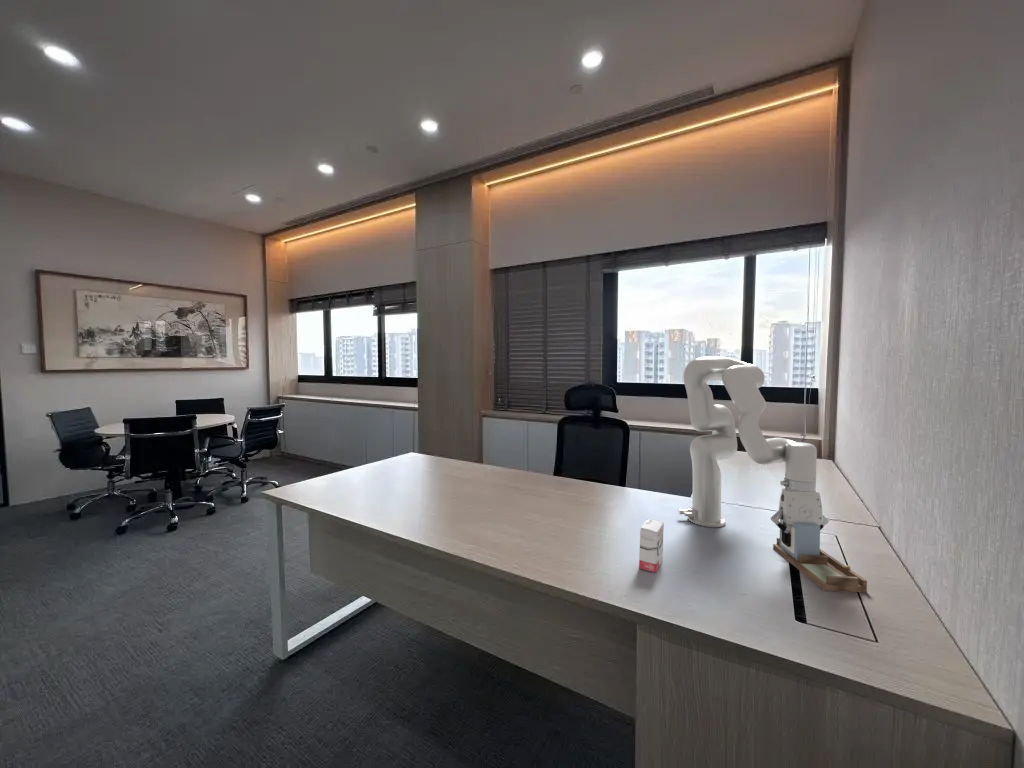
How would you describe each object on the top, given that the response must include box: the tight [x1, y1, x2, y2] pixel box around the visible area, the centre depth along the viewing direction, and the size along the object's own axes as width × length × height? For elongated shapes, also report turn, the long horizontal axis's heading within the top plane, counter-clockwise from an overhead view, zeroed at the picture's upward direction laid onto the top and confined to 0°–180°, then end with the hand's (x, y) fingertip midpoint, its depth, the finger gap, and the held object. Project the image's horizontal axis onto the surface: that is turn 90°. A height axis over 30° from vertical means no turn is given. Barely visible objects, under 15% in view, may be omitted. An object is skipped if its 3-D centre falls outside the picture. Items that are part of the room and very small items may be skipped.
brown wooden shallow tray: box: [772, 537, 868, 593], centre depth 116 cm, size 10×24×4 cm, turn 175°
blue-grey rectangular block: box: [779, 519, 821, 560], centre depth 122 cm, size 6×9×10 cm
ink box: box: [638, 519, 665, 574], centre depth 119 cm, size 9×5×12 cm, turn 148°
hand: (798, 544), depth 122 cm, fingers closed on blue-grey rectangular block, 6 cm apart
